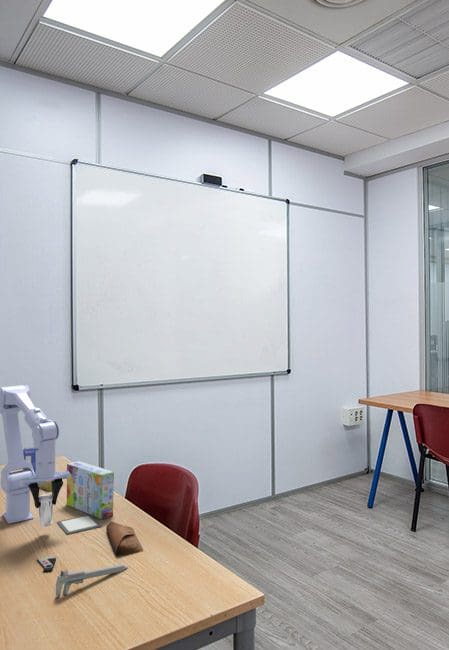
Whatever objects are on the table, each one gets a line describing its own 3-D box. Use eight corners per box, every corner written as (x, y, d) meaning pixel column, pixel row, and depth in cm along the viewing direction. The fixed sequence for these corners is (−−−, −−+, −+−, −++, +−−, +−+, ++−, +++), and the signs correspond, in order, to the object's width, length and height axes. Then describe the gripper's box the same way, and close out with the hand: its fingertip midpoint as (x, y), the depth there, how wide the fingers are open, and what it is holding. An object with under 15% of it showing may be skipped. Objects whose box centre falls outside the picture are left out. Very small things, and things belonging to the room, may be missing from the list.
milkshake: (50, 528, 152) (49, 495, 152) (35, 527, 154) (34, 494, 154) (59, 522, 157) (58, 490, 157) (44, 520, 158) (43, 489, 158)
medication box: (34, 485, 202) (33, 475, 202) (40, 483, 204) (40, 473, 204) (48, 492, 194) (48, 482, 194) (55, 490, 196) (55, 480, 196)
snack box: (114, 515, 171) (114, 471, 171) (101, 520, 167) (101, 475, 167) (78, 500, 185) (78, 459, 185) (65, 505, 180) (65, 463, 180)
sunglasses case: (146, 551, 144) (134, 533, 143) (124, 567, 142) (112, 549, 141) (132, 527, 161) (121, 511, 160) (113, 541, 159) (102, 525, 157)
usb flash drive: (51, 573, 133) (51, 569, 133) (31, 574, 132) (31, 571, 132) (57, 558, 141) (57, 554, 141) (37, 559, 140) (37, 555, 140)
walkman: (23, 477, 211) (23, 448, 211) (24, 475, 214) (24, 447, 214) (42, 476, 213) (42, 447, 213) (43, 474, 216) (43, 446, 216)
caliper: (57, 599, 120) (57, 573, 120) (55, 598, 121) (55, 572, 121) (128, 569, 135) (128, 545, 135) (126, 567, 136) (126, 544, 136)
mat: (56, 522, 164) (56, 521, 164) (89, 515, 171) (89, 514, 171) (66, 534, 155) (66, 533, 155) (101, 526, 161) (101, 525, 161)
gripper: (23, 468, 148) (23, 514, 148) (73, 461, 156) (72, 504, 156) (18, 462, 153) (18, 507, 154) (66, 455, 161) (66, 497, 162)
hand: (45, 505), depth 155 cm, fingers closed on milkshake, 4 cm apart
